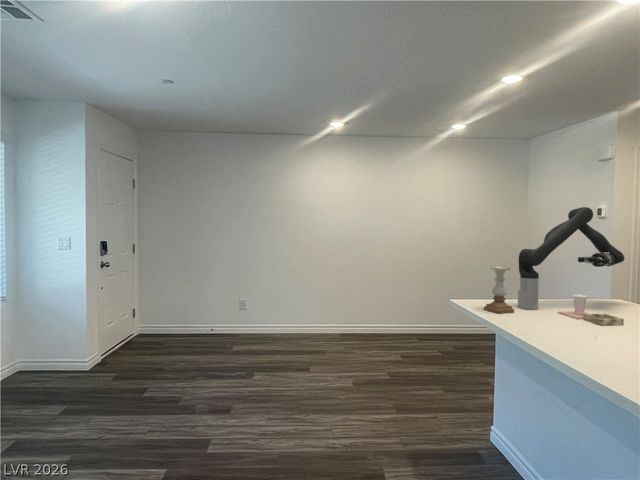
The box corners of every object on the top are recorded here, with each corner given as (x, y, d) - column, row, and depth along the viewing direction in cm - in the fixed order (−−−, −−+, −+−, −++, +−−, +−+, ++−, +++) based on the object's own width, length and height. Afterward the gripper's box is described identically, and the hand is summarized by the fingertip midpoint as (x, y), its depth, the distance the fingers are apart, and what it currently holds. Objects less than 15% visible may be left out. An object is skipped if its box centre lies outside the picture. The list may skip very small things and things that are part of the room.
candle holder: (499, 308, 227) (500, 266, 226) (514, 312, 217) (515, 268, 216) (483, 309, 224) (484, 266, 223) (498, 314, 213) (499, 268, 212)
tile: (576, 319, 202) (576, 317, 202) (557, 313, 216) (557, 311, 216) (602, 318, 204) (602, 317, 204) (581, 312, 218) (581, 311, 218)
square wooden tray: (601, 325, 190) (601, 319, 190) (583, 319, 201) (583, 313, 201) (623, 325, 191) (623, 319, 191) (604, 319, 203) (604, 313, 202)
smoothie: (584, 313, 212) (585, 286, 212) (588, 316, 206) (589, 288, 206) (570, 312, 214) (571, 286, 214) (573, 315, 208) (574, 287, 208)
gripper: (587, 252, 232) (574, 253, 223) (616, 253, 221) (603, 255, 212) (586, 265, 233) (573, 266, 223) (615, 267, 221) (603, 269, 212)
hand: (588, 261), depth 218 cm, fingers open, 8 cm apart
